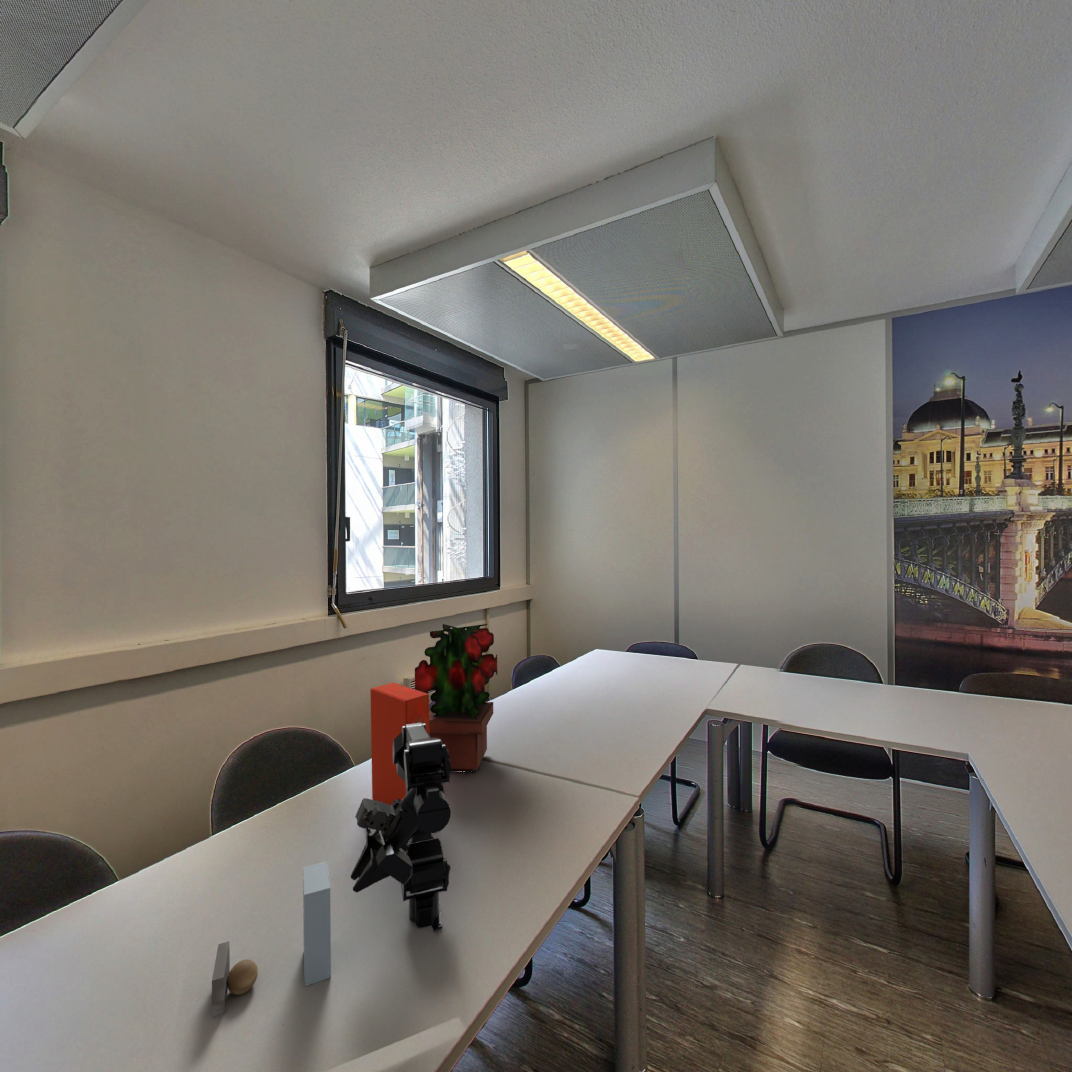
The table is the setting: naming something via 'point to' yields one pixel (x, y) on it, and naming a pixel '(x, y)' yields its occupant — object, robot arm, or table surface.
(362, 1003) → the table surface
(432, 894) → the robot arm
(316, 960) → the block
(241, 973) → the walnut
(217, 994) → the press bed
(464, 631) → the potted plant
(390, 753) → the file binder
